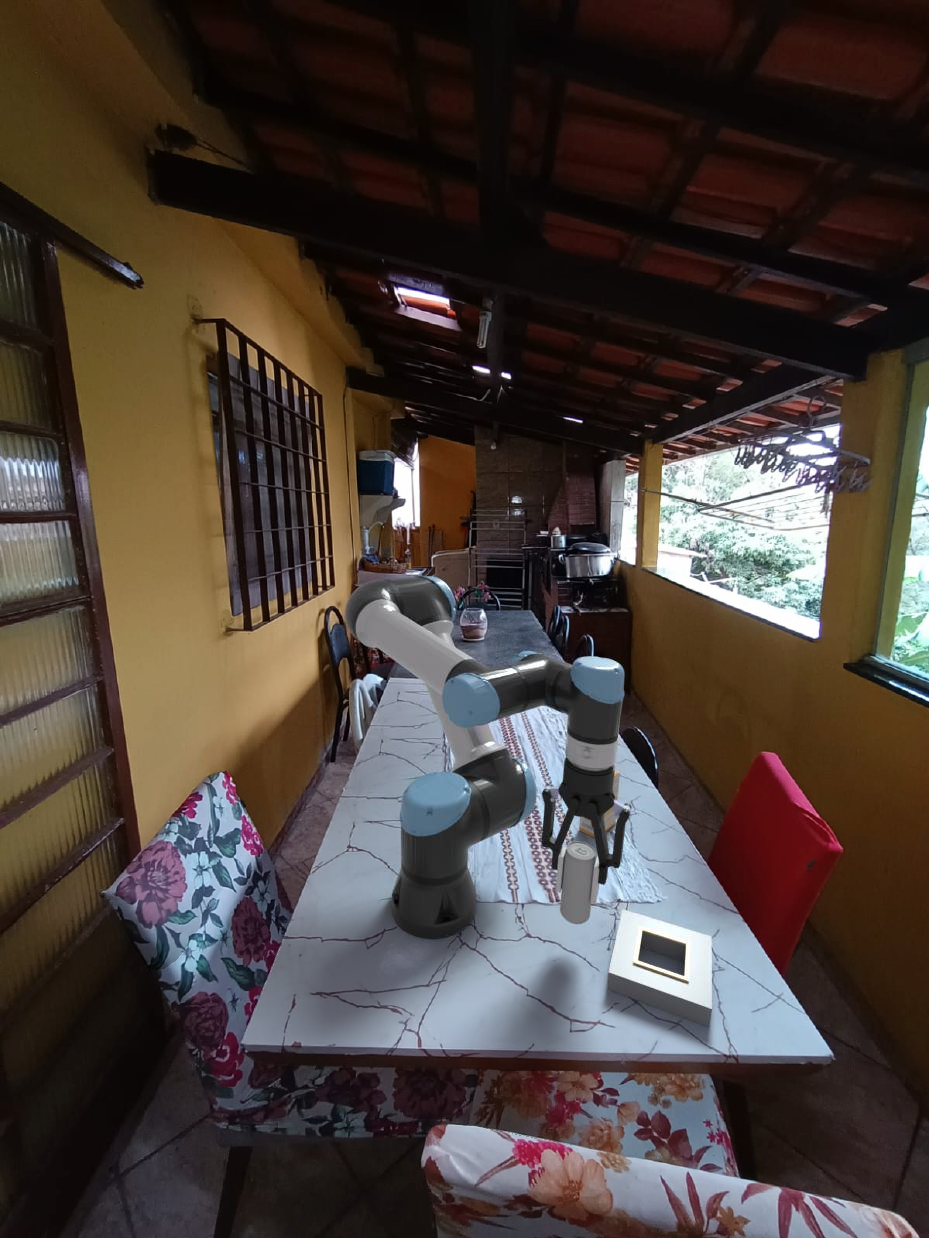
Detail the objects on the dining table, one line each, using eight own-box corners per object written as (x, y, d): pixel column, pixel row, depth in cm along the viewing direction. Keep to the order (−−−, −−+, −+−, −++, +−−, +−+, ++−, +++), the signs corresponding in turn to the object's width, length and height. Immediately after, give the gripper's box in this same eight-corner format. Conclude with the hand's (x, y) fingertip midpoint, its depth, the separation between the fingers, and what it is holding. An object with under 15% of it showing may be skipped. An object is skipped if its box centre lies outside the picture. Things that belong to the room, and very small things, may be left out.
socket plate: (606, 988, 80) (608, 970, 79) (620, 923, 93) (622, 907, 92) (709, 1026, 75) (712, 1007, 74) (709, 952, 87) (711, 934, 86)
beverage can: (568, 899, 91) (574, 836, 88) (595, 913, 88) (602, 849, 85) (554, 915, 87) (559, 850, 84) (581, 931, 84) (587, 864, 81)
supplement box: (597, 815, 125) (601, 763, 122) (616, 824, 122) (621, 771, 119) (577, 830, 119) (581, 776, 116) (596, 839, 116) (600, 784, 113)
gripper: (525, 757, 81) (516, 889, 86) (649, 786, 74) (631, 928, 79) (539, 737, 88) (530, 861, 93) (654, 762, 81) (637, 895, 86)
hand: (576, 891), depth 86 cm, fingers closed on beverage can, 5 cm apart
